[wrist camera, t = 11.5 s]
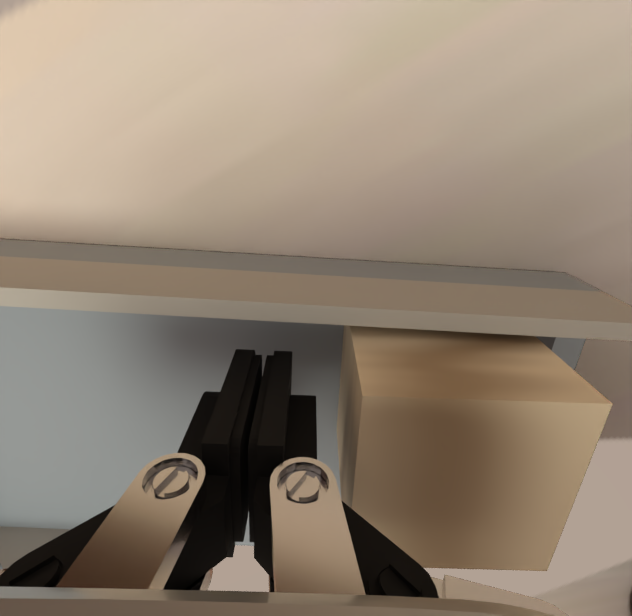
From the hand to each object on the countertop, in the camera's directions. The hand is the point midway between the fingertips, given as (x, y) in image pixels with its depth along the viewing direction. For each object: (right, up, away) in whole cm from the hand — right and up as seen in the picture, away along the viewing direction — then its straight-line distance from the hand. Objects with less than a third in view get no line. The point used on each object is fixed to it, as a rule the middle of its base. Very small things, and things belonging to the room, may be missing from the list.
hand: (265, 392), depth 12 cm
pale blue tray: (-1, -1, +4) cm, 5 cm away
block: (+5, 0, +2) cm, 5 cm away
